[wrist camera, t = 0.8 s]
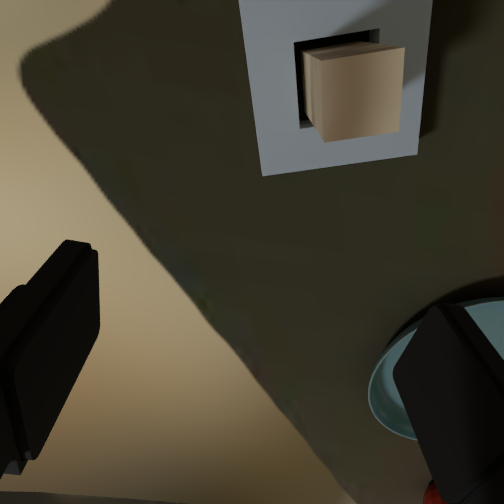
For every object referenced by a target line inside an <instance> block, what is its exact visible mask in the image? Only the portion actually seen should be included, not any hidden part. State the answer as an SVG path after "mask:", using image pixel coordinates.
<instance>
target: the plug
mask: <svg viewBox="0 0 504 504" xmlns="http://www.w3.org/2000/svg"><path fill="white" fill-rule="evenodd" d="M404 55H405V47H399V46H392V45H385V44H378V43H371V42H363V41H355V42H349V43H343V44H337V45H331V46H325V47H319V48H313V49H307V50H301V67H302V83H303V98H304V111H305V113H306V114H307V116H308V118H309V119H310V121H311V122H312V124H313V125H314V127H315V129H316V130H317V132H318V133H319V135H320V136H321V138H322V140H323V141H324V143H325V142H332V141H339V140H346V139H353V138H360V137H367V136H373V135H380V134H387V133H394V132H399V125H400V111H401V97H402V83H403V69H404Z"/></svg>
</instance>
